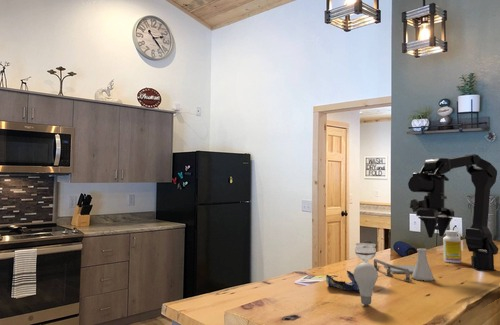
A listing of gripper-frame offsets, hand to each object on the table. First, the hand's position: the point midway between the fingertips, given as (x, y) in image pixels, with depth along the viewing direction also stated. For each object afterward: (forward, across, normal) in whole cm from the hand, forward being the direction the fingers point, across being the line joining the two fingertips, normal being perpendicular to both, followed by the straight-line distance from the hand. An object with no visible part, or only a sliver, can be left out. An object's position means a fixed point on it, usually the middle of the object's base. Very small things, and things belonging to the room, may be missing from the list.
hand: (435, 236), depth 140 cm
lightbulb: (+15, +52, +3) cm, 54 cm away
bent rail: (+14, +13, -11) cm, 22 cm away
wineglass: (+14, +28, -11) cm, 33 cm away
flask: (+14, +10, 0) cm, 17 cm away
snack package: (+15, +40, -9) cm, 44 cm away
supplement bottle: (+13, -30, -6) cm, 33 cm away
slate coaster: (+13, +2, -11) cm, 17 cm away
